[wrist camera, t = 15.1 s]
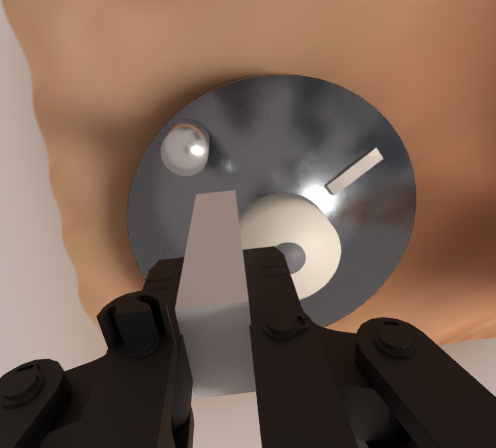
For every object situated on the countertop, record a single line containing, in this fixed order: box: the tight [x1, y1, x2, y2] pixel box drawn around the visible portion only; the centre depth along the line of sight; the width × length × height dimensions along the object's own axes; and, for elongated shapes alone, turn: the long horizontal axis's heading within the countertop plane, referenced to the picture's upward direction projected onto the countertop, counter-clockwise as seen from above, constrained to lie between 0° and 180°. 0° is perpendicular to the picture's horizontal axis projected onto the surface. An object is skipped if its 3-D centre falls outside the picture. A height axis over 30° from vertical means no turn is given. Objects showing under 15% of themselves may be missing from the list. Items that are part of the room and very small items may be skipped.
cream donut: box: [238, 192, 341, 300], centre depth 28 cm, size 9×9×4 cm
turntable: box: [127, 74, 416, 327], centre depth 28 cm, size 26×26×7 cm
